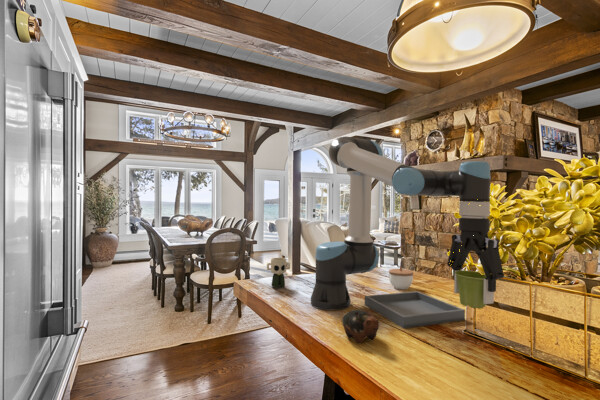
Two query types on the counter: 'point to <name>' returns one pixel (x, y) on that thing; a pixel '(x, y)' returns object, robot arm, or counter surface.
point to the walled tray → (414, 309)
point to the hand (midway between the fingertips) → (472, 297)
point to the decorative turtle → (360, 325)
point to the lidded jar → (401, 278)
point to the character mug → (278, 271)
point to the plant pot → (471, 288)
